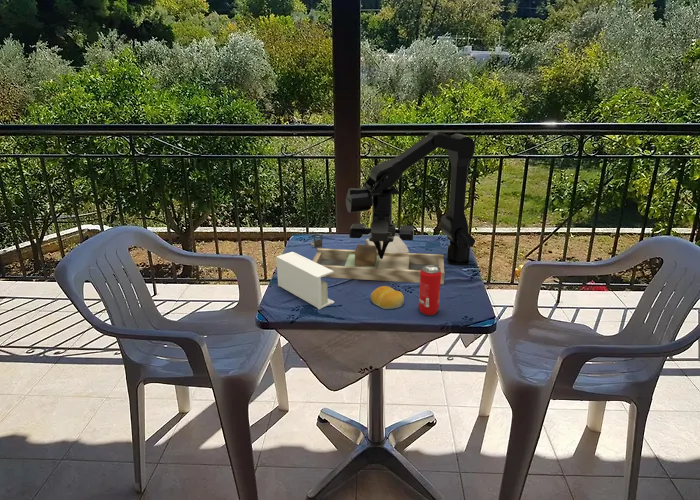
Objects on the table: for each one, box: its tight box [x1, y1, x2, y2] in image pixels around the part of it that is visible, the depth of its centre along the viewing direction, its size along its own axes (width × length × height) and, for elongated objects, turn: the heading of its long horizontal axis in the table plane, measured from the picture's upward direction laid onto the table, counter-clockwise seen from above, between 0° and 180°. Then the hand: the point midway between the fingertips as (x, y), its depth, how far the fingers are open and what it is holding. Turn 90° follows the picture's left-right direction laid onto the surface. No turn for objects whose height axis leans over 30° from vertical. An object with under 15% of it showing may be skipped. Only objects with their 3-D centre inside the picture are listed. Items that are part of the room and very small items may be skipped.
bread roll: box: [370, 285, 405, 310], centre depth 136 cm, size 8×9×4 cm
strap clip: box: [309, 235, 326, 250], centre depth 174 cm, size 8×3×4 cm, turn 27°
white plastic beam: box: [275, 251, 335, 310], centre depth 140 cm, size 20×6×9 cm, turn 42°
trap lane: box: [311, 248, 446, 285], centre depth 155 cm, size 40×14×4 cm, turn 81°
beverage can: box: [418, 265, 442, 316], centre depth 130 cm, size 5×5×12 cm
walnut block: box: [354, 244, 377, 267], centre depth 155 cm, size 6×6×4 cm
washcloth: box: [365, 235, 410, 253], centre depth 171 cm, size 12×18×3 cm, turn 11°
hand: (381, 258), depth 154 cm, fingers closed
